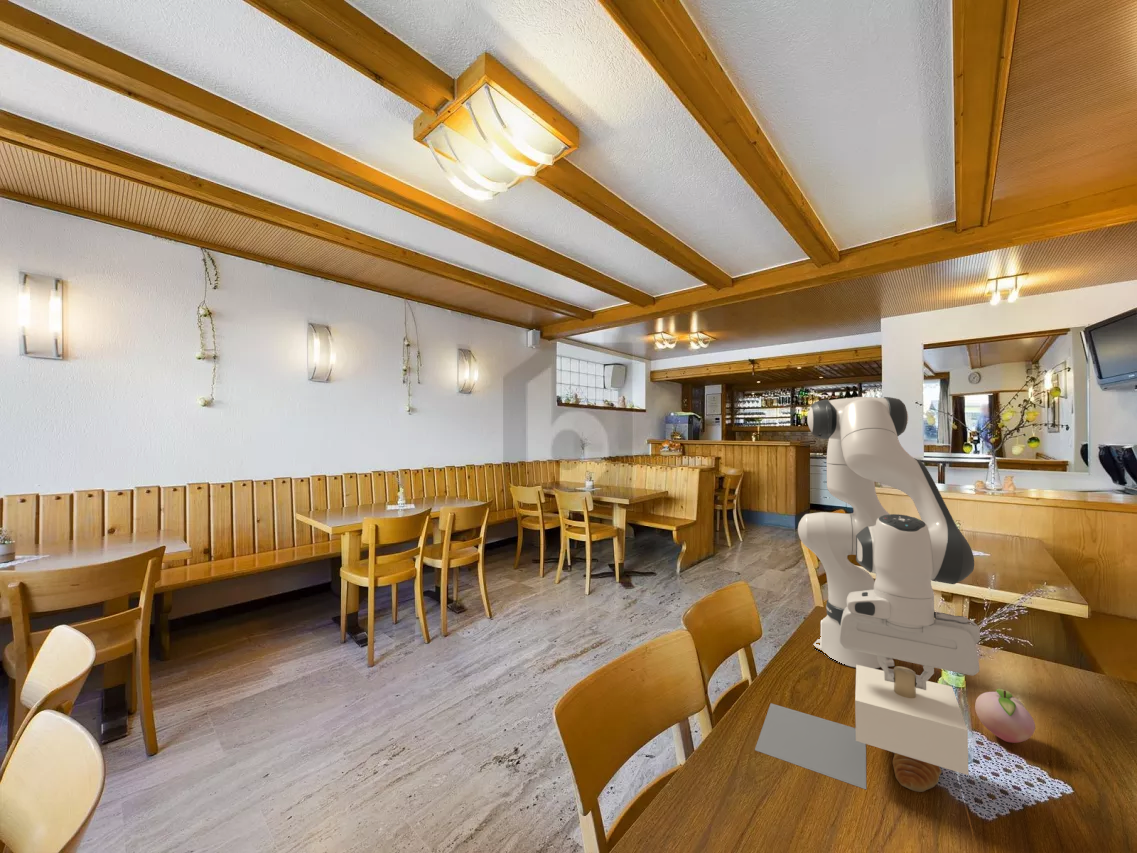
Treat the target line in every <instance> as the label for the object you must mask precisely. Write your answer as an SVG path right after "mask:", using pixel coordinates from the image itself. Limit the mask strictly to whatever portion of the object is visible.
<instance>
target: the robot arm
mask: <svg viewBox="0 0 1137 853" xmlns="http://www.w3.org/2000/svg"><path fill="white" fill-rule="evenodd" d="M806 422H807V425H808V428H809V430H810V433H811V434H812V435H813V436H814V437H815V438H816V439H821V440H828V441H827V449H826V488H827V491H828V493H829V494H830V495H831V496H833V497H834V498H835V499H838V500H840V501H842V502H844V503H846V504H847V505H849V506H851V507H852V510H853V512H851V513H841V512H827V511H825V512H824V511H820V512H813V513H811V512H810V513H805V514H804V515H803V516H802V517H801V519H800V520H799V522H798V526H797V534H798V538H799V539H800V541H801V542H802V544H803V545H804V547H806V548H807V549H809V550H810V551H811V552H812V553H813V554H814V555H815V556H816V557H817V558H818V559H819V561H820V562H821V564H822V566H823V568H824V570H825V574H826V583H827V593H828V594H827V597H828V598H827V600H826V604H825V609H826V616H825V617H823V619H821V620H820V636H821V637H820V636H819V637H820V639H818V638H817V639H816V641H815V642H814V643H813V644H812V646H813V645H814V646H815V647H816V648H818V649H820V650H822V651H823V652H824V653H826V654H827V655H828V656H829V657H830V658H832V659H834V660H836V661H838V662H837V663H839V662H840V664H841V663H842V665H844V664H845V665H844V666H848V667H851V668H856V665H860V666H865V667H869V668H873V669H879V668H881V670H882V671H884V680H885V681H890V682H894V668H889V667H895V661H894V660H899V661H902V662H907V663H911V664H912V663H913V664H916V665H921V666H922V668H923V671H922V673H921V674H920V675H919V674H916V688H919V689H923V690H926V681H929V680H930V679H931V677H932V676H933V675H935V669H940V670H945V671H948V672H953V673H957V674H958V673H959V674H963V675H968V676H975V675H976V674H978V673H979V672H980V661H979V655H978V651H977V650H978V649H977V644H978V643H979V642H980V639H981V634H980V633H981V630H980V628H979V626H978V624H977V623H975V622H974V621H972V620H970V619H968V618H969V617H966V616H962V615H953V614H949V613H943V612H939V611H935V594H934V593H935V592H934V589H933V586H932V582H938V583H942V584H947V585H948V584H950V585H956V584H958V583H961V582H962V581H964V580H965V579H967V577H969V576H970V575H971V574H972V573H973V572H974V569H975V558H974V553H973V551H972V547H971V545H970V543H969V541H968V540H967V539H966V537H965V536H964V535H963V533H962V532H961V531H960V528H958V526H957V523H956V522H955V520H954V518H953V517H952V514H951V512H950V510H949V508H948V506H947V505H946V502H945V501H944V498H943V497H942V495H941V492H940V490H939V488H938V487H937V484H936V482H935V481H934V479H933V477H932V475H931V473H930V472H929V470H928V468H927V467H926V465H925V464H924V462H923V461H921V460H919V459H917V458H915V457H913V456H912V455H910V454H909V453H908V452H907V451H906V450H905V449H904V447H903V446H902V445H901V443H900V441H899V436H900V435H902V434H903V433H904V432H905V431H906V429H907V426H908V423H909V413H908V410H907V407H906V405H905V403H904V402H903V401H902V400H901V399H900V398H897V397H896V398H895V397H890V396H889V397H888V396H883V397H875V396H874V397H873V396H855V397H848V398H846V397H845V398H836V399H830V400H829V399H821V400H818V401H815V402H814V403H812V405H810V408H809V411H808V413H807V420H806ZM875 482H876V483H879V484H883V485H884V486H888V487H891V488H894V489H897V490H898V491H901V492H903V493H904V494H906V495H907V496H908V497H910V499H911V500H912V502H913V503H914V504H913V505H914V506H915V508H916V511H917V513H918V515H919V517H920V518H917V517H914V516H909V515H906V514H899V513H898V514H896V513H894V514H892V513H891V514H890V513H889V512H888V511H887V510H886V509H885V508H884V506H883V505H882V503H881V502H880V499H879V498H878V495H877V491H876V484H875ZM851 555H854V556H855V561H856V563H858V564H859V565H860V566H861V567H860V566H858V565H855V564H854V563H852V562H851V561H850V560H849V559H848V556H851ZM864 569H865V570H864ZM867 571H868V572H867ZM870 573H873V574H875V579H874V577H873V576H872V575H871V574H870ZM816 643H820V645H819V644H816ZM829 657H828V658H829ZM830 658H829V659H830ZM832 659H831V660H832ZM834 660H833V661H834ZM836 661H835V662H836Z"/></svg>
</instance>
